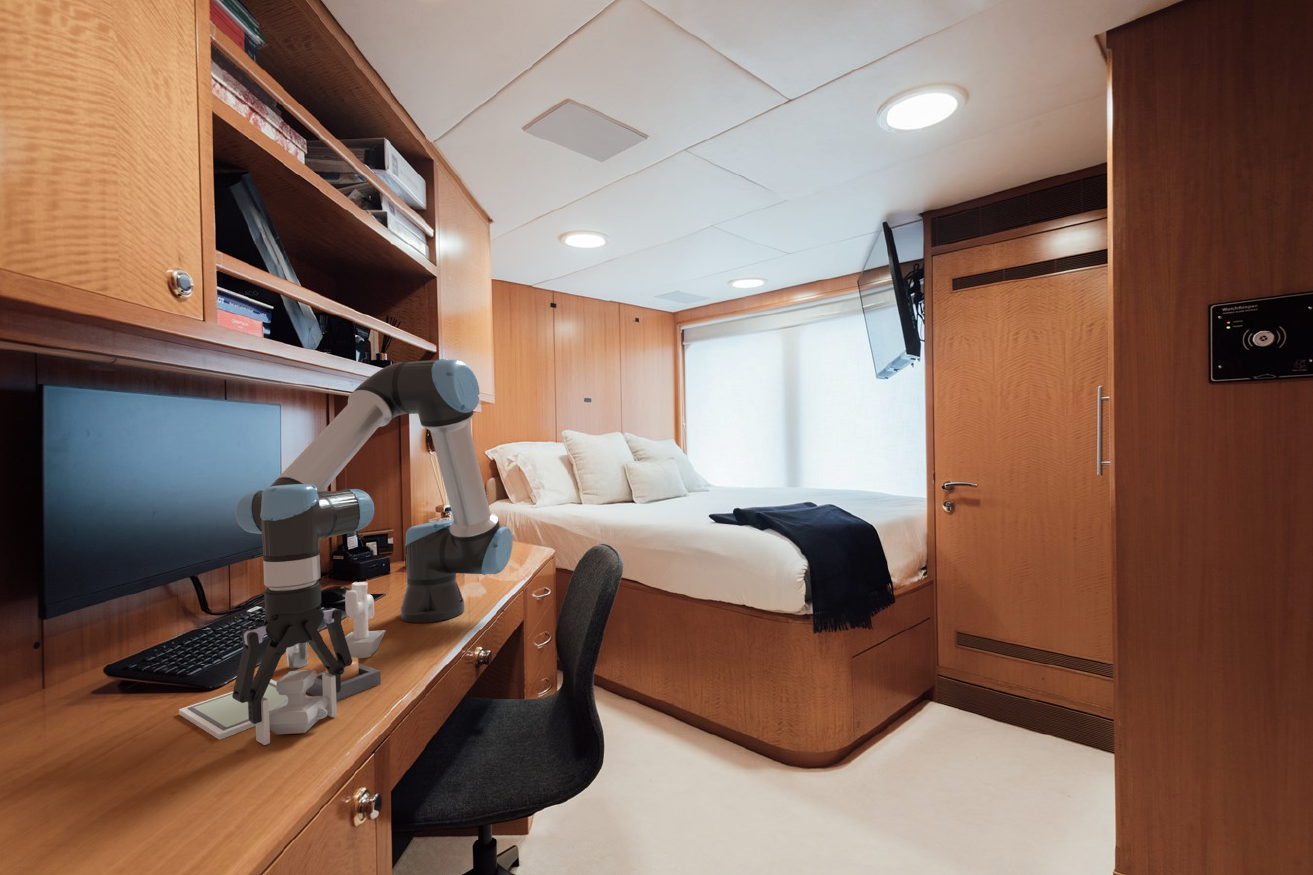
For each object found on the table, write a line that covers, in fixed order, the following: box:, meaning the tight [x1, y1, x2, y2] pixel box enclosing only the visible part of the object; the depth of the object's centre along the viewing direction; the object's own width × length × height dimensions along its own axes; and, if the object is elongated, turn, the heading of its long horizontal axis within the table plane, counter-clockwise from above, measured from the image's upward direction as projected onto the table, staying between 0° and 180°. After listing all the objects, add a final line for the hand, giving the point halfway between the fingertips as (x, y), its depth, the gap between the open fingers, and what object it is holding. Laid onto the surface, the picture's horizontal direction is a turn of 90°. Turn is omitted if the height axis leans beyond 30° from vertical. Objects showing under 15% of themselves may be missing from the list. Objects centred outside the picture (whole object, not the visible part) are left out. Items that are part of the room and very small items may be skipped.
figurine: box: [344, 581, 387, 659], centre depth 125 cm, size 7×9×15 cm
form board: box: [178, 678, 310, 741], centre depth 101 cm, size 14×16×1 cm
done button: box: [325, 657, 359, 682], centre depth 109 cm, size 5×5×3 cm
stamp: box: [269, 669, 329, 735], centre depth 94 cm, size 9×7×8 cm
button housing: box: [306, 662, 382, 702], centre depth 109 cm, size 9×9×2 cm
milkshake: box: [285, 642, 309, 670], centre depth 119 cm, size 5×5×10 cm
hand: (298, 727), depth 94 cm, fingers closed on stamp, 9 cm apart
